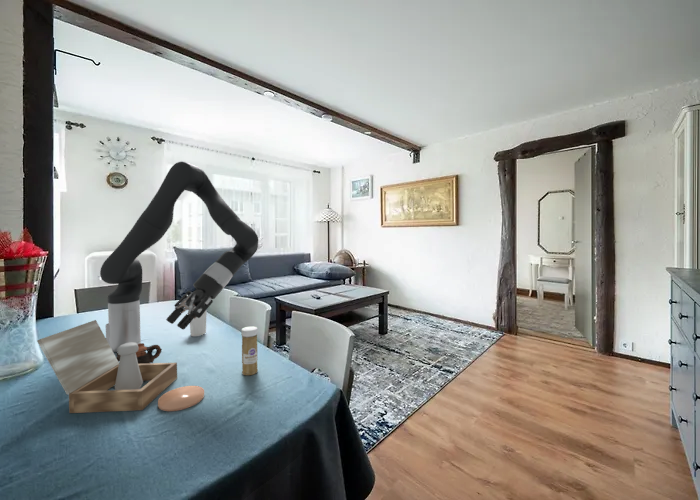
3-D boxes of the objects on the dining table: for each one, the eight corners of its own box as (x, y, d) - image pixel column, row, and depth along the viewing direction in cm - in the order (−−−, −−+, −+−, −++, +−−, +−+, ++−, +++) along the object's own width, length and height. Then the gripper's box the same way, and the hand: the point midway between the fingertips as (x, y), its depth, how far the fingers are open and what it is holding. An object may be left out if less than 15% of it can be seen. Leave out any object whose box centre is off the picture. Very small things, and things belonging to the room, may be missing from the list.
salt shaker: (120, 402, 72) (119, 349, 72) (110, 395, 76) (109, 345, 75) (147, 391, 77) (145, 342, 77) (137, 385, 80) (135, 338, 80)
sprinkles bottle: (248, 377, 85) (247, 331, 85) (238, 373, 88) (238, 328, 87) (261, 371, 89) (260, 327, 89) (251, 367, 92) (251, 324, 91)
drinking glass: (210, 333, 125) (210, 310, 125) (195, 337, 119) (194, 313, 119) (201, 330, 129) (201, 308, 128) (186, 335, 123) (185, 311, 123)
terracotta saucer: (148, 412, 68) (148, 407, 68) (171, 390, 78) (171, 386, 78) (193, 410, 69) (193, 406, 69) (210, 388, 79) (210, 385, 79)
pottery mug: (117, 379, 85) (109, 352, 87) (123, 381, 93) (116, 356, 95) (164, 359, 92) (156, 334, 94) (167, 362, 100) (159, 339, 101)
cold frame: (39, 414, 67) (36, 339, 67) (95, 380, 83) (92, 319, 83) (142, 410, 69) (140, 336, 68) (177, 377, 85) (175, 318, 84)
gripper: (195, 271, 95) (155, 313, 87) (215, 274, 86) (172, 322, 77) (212, 285, 99) (175, 327, 91) (233, 290, 90) (194, 337, 82)
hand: (174, 324), depth 84 cm, fingers open, 8 cm apart
